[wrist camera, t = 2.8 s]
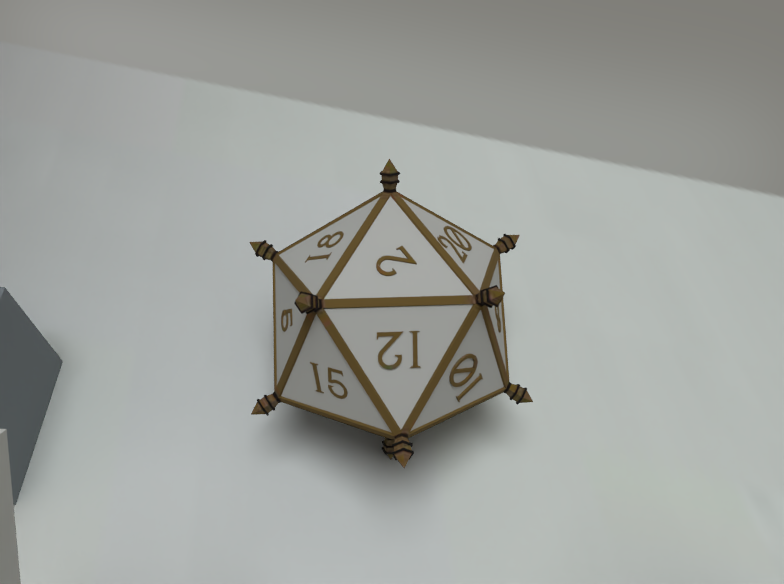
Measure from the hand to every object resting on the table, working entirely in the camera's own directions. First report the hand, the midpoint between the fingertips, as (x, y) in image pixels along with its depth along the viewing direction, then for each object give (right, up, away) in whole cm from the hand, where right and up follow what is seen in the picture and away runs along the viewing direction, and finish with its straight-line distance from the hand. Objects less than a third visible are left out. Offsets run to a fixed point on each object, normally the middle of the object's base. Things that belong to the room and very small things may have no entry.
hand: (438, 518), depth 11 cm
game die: (-1, 0, +14) cm, 15 cm away
